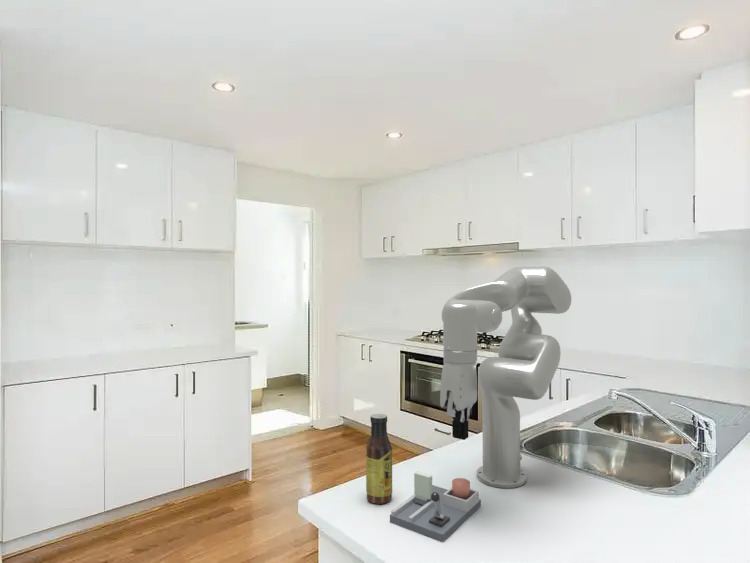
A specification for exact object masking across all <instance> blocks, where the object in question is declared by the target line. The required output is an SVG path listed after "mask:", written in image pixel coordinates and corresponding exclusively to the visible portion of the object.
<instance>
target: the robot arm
mask: <svg viewBox="0 0 750 563" xmlns="http://www.w3.org/2000/svg"><path fill="white" fill-rule="evenodd" d="M571 304H572V294H571V291H570V289H569V287H568V285H567V283H565V281H564V280H563V278H562V277H561V276H560V275H559V274H558V273H557V271H555V270H554V269H553V268H551V267H548V266H542V265H541V266H517V267H511V268H510V269H508V270H506V272H504V273H503V274H501V275H500V276H499V277H497V278H496V279H494V280H493V281H491V282H487V283H484V284H483V283H482V284H480V285H477V286H474V287H470V288H467V289H464V290H461V291H460V292H458V293H456V294H455V295H453V296H451V297H450V298H449V299H448V300H447V301H445V304H444V305H443V308H442V310H441V320H442V323H443V327H442V328H443V329H442V330H443V334H442V335H443V338H442V340H443V342H442V343H443V365H442V369H441V376H440V377H441V379H440V392H439V393H440V394H439V398H440V399H439V406H440V408H441V409H446V416H447V417H449V418H450V420H451V421H452V422H451V423H452V435H451V436H452V437H453V439H459V440H463V441H465V440H467V439H468V438H469V420H470V412H471V409H472V407H473V406H474V404H475V403H476V402H477V401H478V382H479V387H480V394H481V405H482V421H481V422H482V423H481V424H482V465H481V466H479V467H478V468H477V470H476V478H478V480H479V481H480V482H482V483H483V484H486V485H488V486H491V487H495V488H500V489H501V488H502V489H503V488H504V489H513V488H518V487H521V486H524V485H525V484H526V482H527V474H526V472H524V471H523V470H522V469H521V461H522V459H523V456H522V455H521V412H520V409H519V405H518V403H517V402H516V400H515V398H519V399H525V400H531V401H532V400H533V401H537V400H540V399H542V398H544V396H545V395H546V393H547V391H548V389H549V387H550V385H551V383H552V380H553V379H554V376H555V374H556V371H557V370H558V368H559V365H560V361H561V355H562V354H561V346H560V343H559V341H558V340H557V339H556V338H555V337H554V336H552V335H549V334H543V332H542V331H543V330H542V326H541V325H540V323H539V321H538V320H537V318H535V316H533V315H532V313H536V314H557V315H558V314H564V313H566V312H568V311H569V309H570V307H571ZM509 310H510V313H511V321H512V323H511V325H510V327H509V329H508V331H507V332H506V334H505V336H504V337H503V339H502V341H501V342H500V345H499V347H498V351H497V354H498V356H491V357H488V358H485V359H484V360H483V361H481V363H480V365H479V367H478V372H477V365H478V333H487V334H488V333H492V332H494V331H496V330H498V328H499V327H500V326H501V324H502V321H503V312H507V311H509ZM477 374H478V375H477Z"/></svg>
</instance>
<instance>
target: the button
mask: <svg viewBox="0 0 750 563" xmlns="http://www.w3.org/2000/svg"><path fill="white" fill-rule="evenodd" d="M451 488H452V495H453V496H454V497H457V498H461V499H467V498H469V497H470V489H471V482H470V480H469V479H467V478H463V477H456V478H453V479H452V481H451Z"/></svg>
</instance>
